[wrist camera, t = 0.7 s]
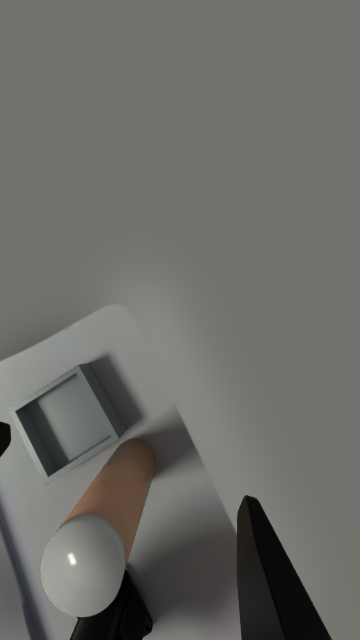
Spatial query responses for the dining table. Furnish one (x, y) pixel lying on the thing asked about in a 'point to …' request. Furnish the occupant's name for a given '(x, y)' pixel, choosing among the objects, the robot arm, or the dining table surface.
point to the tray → (66, 422)
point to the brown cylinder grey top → (99, 534)
